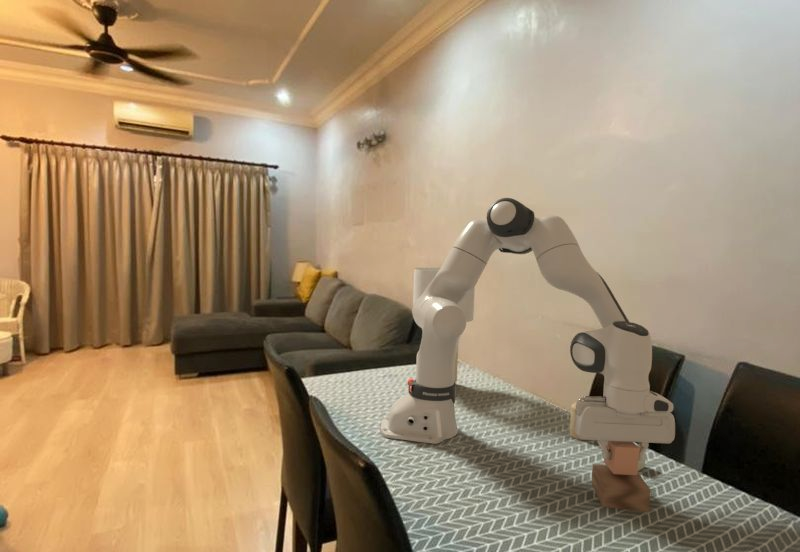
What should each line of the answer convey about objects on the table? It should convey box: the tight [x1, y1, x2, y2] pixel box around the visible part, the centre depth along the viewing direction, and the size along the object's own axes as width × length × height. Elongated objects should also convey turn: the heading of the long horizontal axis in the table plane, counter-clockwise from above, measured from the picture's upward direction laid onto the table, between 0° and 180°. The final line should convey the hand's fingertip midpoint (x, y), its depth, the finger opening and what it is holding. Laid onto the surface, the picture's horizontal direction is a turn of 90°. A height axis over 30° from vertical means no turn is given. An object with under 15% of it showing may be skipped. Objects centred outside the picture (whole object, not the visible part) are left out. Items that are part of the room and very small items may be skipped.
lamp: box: [412, 267, 476, 383], centre depth 169 cm, size 23×23×44 cm
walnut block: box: [591, 463, 651, 513], centre depth 97 cm, size 9×9×5 cm
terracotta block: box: [603, 441, 639, 475], centre depth 98 cm, size 5×5×6 cm
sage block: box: [638, 451, 647, 472], centre depth 111 cm, size 5×5×4 cm
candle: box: [569, 401, 584, 441], centre depth 128 cm, size 6×6×10 cm
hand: (621, 459), depth 98 cm, fingers closed on terracotta block, 5 cm apart
